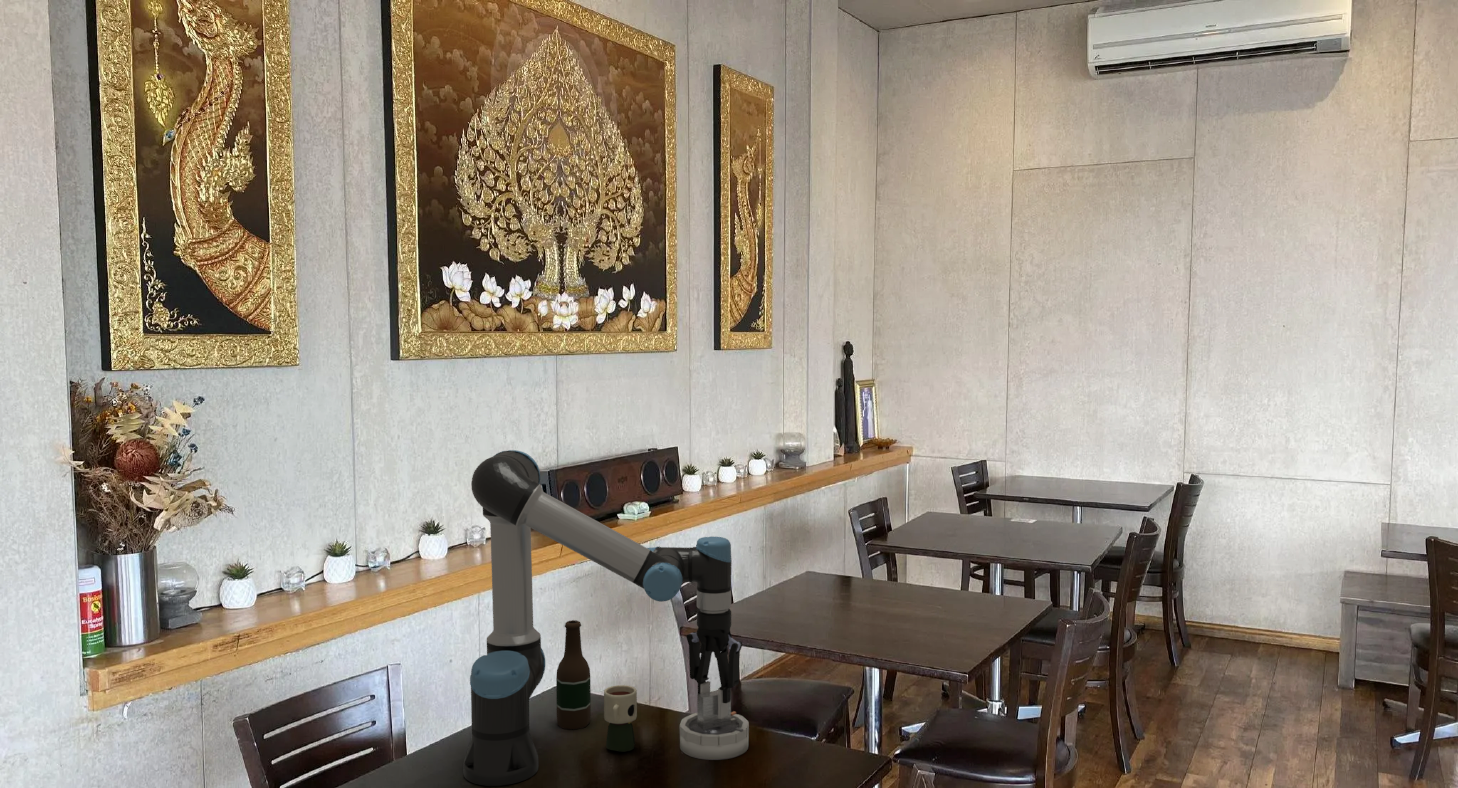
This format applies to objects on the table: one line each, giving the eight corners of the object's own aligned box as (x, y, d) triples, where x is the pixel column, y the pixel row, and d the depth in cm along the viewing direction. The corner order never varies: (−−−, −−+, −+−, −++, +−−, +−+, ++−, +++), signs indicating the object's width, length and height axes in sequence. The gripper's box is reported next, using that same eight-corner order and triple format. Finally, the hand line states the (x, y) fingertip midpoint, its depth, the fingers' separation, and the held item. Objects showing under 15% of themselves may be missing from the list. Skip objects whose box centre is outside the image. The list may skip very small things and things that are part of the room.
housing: (665, 748, 225) (665, 724, 224) (708, 727, 237) (708, 704, 236) (721, 765, 216) (721, 740, 215) (762, 742, 228) (762, 718, 227)
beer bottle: (556, 718, 242) (555, 617, 241) (589, 716, 244) (589, 616, 242) (557, 731, 235) (556, 627, 233) (591, 728, 236) (590, 625, 235)
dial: (705, 744, 218) (705, 705, 218) (680, 728, 228) (680, 690, 227) (748, 734, 224) (749, 696, 224) (722, 718, 234) (722, 681, 233)
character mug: (631, 759, 219) (630, 699, 218) (598, 758, 220) (598, 698, 219) (642, 739, 230) (641, 682, 229) (610, 738, 230) (610, 681, 230)
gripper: (756, 610, 223) (756, 717, 224) (692, 599, 232) (692, 701, 234) (737, 618, 217) (737, 728, 218) (672, 606, 226) (672, 711, 227)
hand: (714, 714), depth 226 cm, fingers closed on dial, 4 cm apart
